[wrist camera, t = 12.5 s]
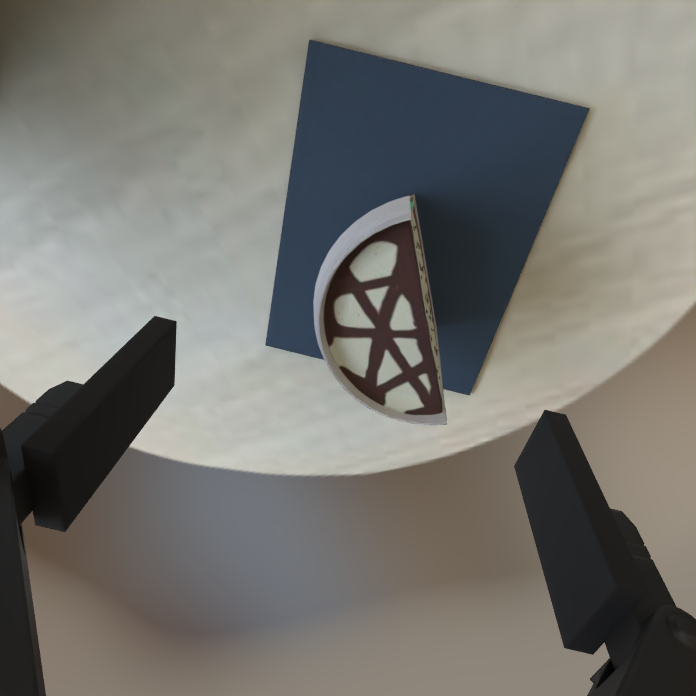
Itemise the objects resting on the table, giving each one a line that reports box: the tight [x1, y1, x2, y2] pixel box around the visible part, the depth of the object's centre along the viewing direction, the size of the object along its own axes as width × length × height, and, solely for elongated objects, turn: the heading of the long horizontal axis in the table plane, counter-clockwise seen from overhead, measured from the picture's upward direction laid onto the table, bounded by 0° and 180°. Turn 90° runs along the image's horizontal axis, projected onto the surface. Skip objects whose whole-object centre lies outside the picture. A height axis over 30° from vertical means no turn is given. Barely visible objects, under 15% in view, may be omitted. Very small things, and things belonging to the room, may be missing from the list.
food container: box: [313, 194, 447, 425], centre depth 28 cm, size 12×6×10 cm, turn 13°
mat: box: [266, 40, 589, 395], centre depth 32 cm, size 16×20×1 cm
